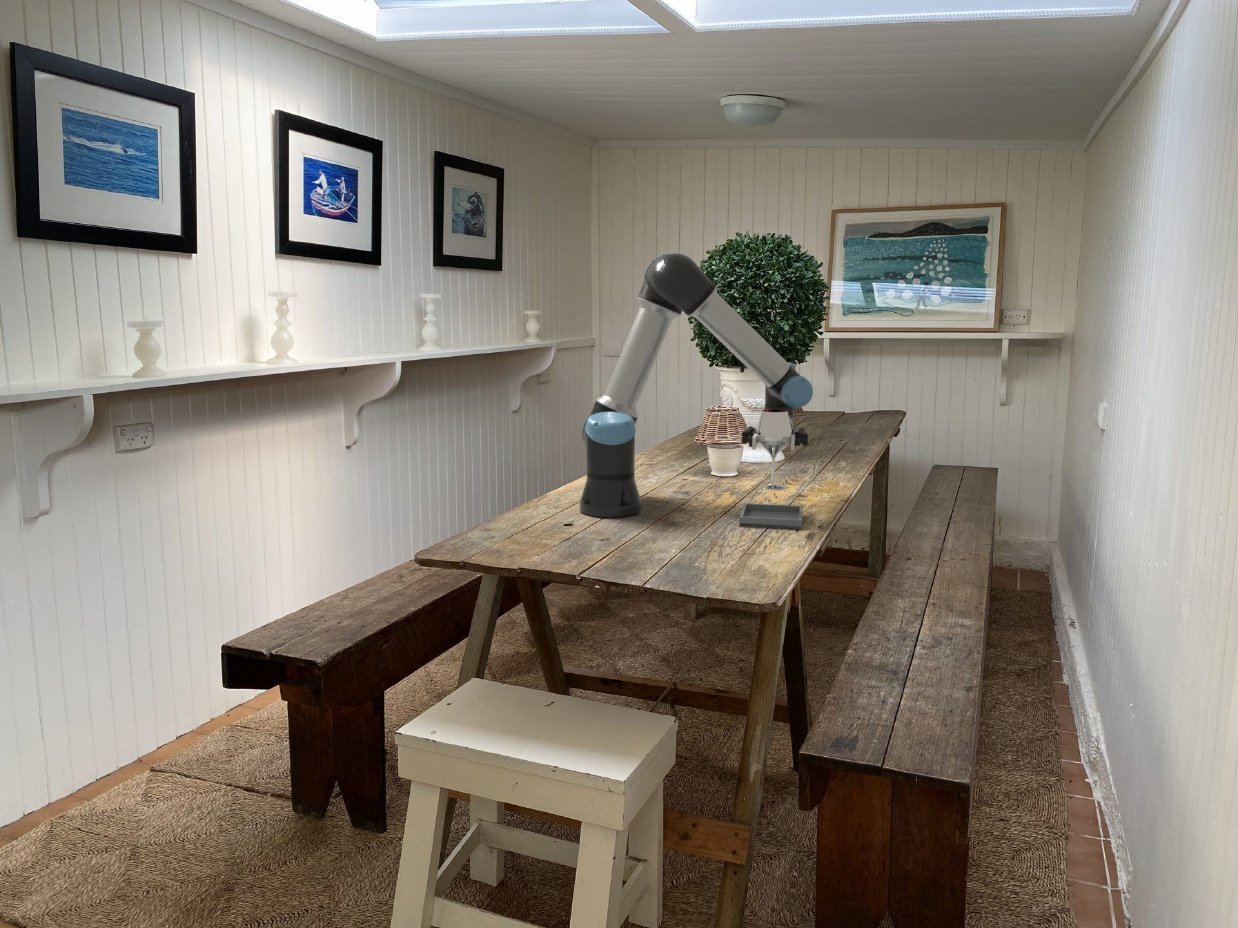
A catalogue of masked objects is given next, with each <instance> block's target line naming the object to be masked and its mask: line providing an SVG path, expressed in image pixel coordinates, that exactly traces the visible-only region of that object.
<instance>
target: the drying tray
mask: <svg viewBox="0 0 1238 928" xmlns="http://www.w3.org/2000/svg"><path fill="white" fill-rule="evenodd" d="M803 508H804V506H803V505H793V504H792V505H788V504H787V505H786V504H769V503H768V504H766V503H765V504H764V503H749V502H747V503H745V502H744V503H743V505H742V509H741V512H740V514H739V520H738V521H739V523H738V524H739V528H741V527H743V528H744V527H745V528H746V527H747V528H762V529H781V530H803V529H802V526H803V514H804V513H803V512H804V511H803Z"/></svg>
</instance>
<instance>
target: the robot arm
mask: <svg viewBox="0 0 1238 928" xmlns="http://www.w3.org/2000/svg"><path fill="white" fill-rule="evenodd" d="M643 279H644V280H643V283H642V286H641V289H640V290H639V294H638V296H637V297H636V299H637V301H638V303H639V310H638V312H637V313H636V317H635V319H634V322H633V324H632V327H631V328H630V331H629V334H628V336H627V339H626V341H625V344H624V345H623V349H622V351H621V353H620V356H619V358H618V361H617V363H616V366H615V368H614V370H613V373H612V376H611V378H610V381H609V383H608V386H607V388H606V390H605V393H604V395H602V396H600V397H598V398H596V399H595V401H594V404H593V407H592V409H591V411H590V413H589V415H588V416H587V417H586V419H585V420H584V422H583V424H582V429H581V430H582V431H581V436H582V441H583V443H584V446H585V448H586V481H585V485H584V487H583V491H582V494H581V497H580V500H579V511H580V512H581V514H584V515H587V516H591V517H598V518H622V517H624V518H625V517H631V516H635V515H637V514H639V513H641V512H642V511H643V510H642V506H643V505H642V504H643V503H642V499H641V495H640V493H639V489H638V486H637V482H636V480H635V477H636V476H635V466H636V465H635V464H636V463H635V461H636V460H635V456H636V454H635V451H636V450H635V447H636V446H635V445H636V443H635V439H636V438H635V437H636V436H635V435H636V423H637V421H638V419H639V414H638V411H637V405H638V403H639V401H640V398H641V396H642V393H643V391H644V388H645V386H646V384H647V381H648V379H649V376H650V374H651V371H652V369H653V367H654V364H655V362H656V359H657V357H658V354H659V353H660V350H661V348H662V345H663V343H664V340H665V338H666V336H667V333H668V330H669V328H670V325H671V323H672V322H673V320H674V319H676V318H679V317H681V315H682V312H684V314H685V315H686V316H688V317H695V319H696V320H697V321H699V322H700V323H701V324H702V325H703V326H704V327H705V328H706V329H707V330H708V331H709V332H710V333H711V334H712V335H713V336H714V338H716V339H717V340H718V341H719V342H720V343H721V344H723V346H725V348H727V350H729V351H730V352H731V353H732V354H733V355H734V356H735V357H736V358H737V359H738V360H739V361H740V362H741V363H742V364H743V365H744V366H745V367H746V368H747V369H748V370H750V371H751V373H753V374H754V375H755V376H756V377H757V379H759V380H760V381H761V382H762V383H763V384H764V385H765V388H764V392H765V393H764V410H765V409H782V410H787V412H788V416H789V420H790V424H791V429H792V437H791V441H790V442H789V444H790V452H794V451H795V446H796V447H798V446H801V445H802V446H804V447H805V446H806V447H807V446H809V445H808V444H809V434H808V432H806V429H805V428H803V427H802V428H797V429H796V430H794V426H795V408H802V407H805V406H806V405H808V404H809V403H810V401H812V399H813V395H814V389H813V388H814V387H813V385H812V383H811V382H810V381H809V380H808V379H807V378H806V377H804V376H803V375H800V373H799V372H798V371H796V365H795V364H794V363H793V362H787V361H786V360H785V359H784V358H783V356H782V355H780V353H779V352H777V351H776V349H774V348H773V347H772V346H771V345H770V344H769V343H768V342H767V341H766V340H765V339H764V338H763V337H762V336H761V335H760V334H759V333H758V332H757V331H756V330H755V329H754V328H753V327H752V326H751V325H750V324H749V323H748V322H747V321H746V320H744V318H743V317H742V316H741V315H740V314H739V313H738V312H737V311H736V310H735V309H734V308H733V307H732V306H731V305H730V304H728V302H726V301H725V299H724V298H723V297H721V295H720V294H718V287H717V285H716V284H715V283H714V282H712V280H710V279H709V277H708V276H707V275H706V274H705V273H704V272H703V271H702V269H701V268H700V267H699V266H698V264H697V263H696V262H695V261H694V260H693V259H691V258H690V257H689V256H687V255H686V254H682V253H666V254H662V255H659V256H658V257H656V258H654V259H653V260H652V261H651V262H650V263H649V264H648V266H647V267H646V270H645V272H644V277H643ZM756 431H757V428H756V427H753V426H751V425H750V426H748V427H747V429H744V431H742V432H741V444H747V443H748V445H749V446H748V447H750V448H751V450H754V451H755V450H756V449H757V446H758V444H759V442H758V440H757V435H756Z"/></svg>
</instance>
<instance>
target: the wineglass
mask: <svg viewBox="0 0 1238 928" xmlns="http://www.w3.org/2000/svg"><path fill="white" fill-rule="evenodd" d="M760 413H761V414H760V416H759V418H758V423H757V428H756V430H757V431H756V435H757V440H758V444H759V445H760V446H761V447H762V448H763V449H764V450H765V451H766V452H767V453H768V454H769V455H770V457H771V471H770V472H771V477H770V483H762V484H759V486H758V487H759V489H762V490H765V491H766V490H767V491H783V490H786V489H787V488H788V487H787V486H786V485H785V484H781V483H776V479H775V477H776V473H775V472H776V471H775V470H776V457H777V456H778V454H779V453H781V452H782V451H783V450H784V449H785V448H786V447H787V446H788V445H789V444H790V443H789V442H790V441H791V437H792V429H791V424H790V420H789V416H788V412H787V410H782V409H765V408H764V409H762V410H761V412H760Z"/></svg>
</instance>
